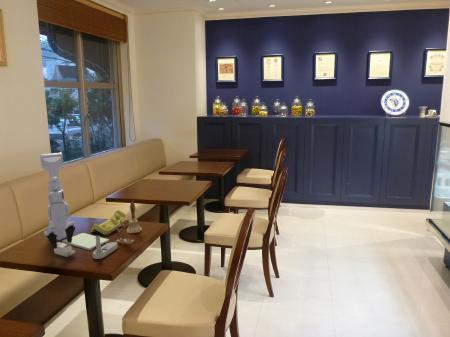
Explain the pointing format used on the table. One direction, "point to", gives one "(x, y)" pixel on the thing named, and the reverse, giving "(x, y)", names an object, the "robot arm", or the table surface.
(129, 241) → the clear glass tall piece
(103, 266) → the table surface
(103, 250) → the electronic device
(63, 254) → the grey connector
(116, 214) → the plastic component
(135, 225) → the hand bell
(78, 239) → the sage board
